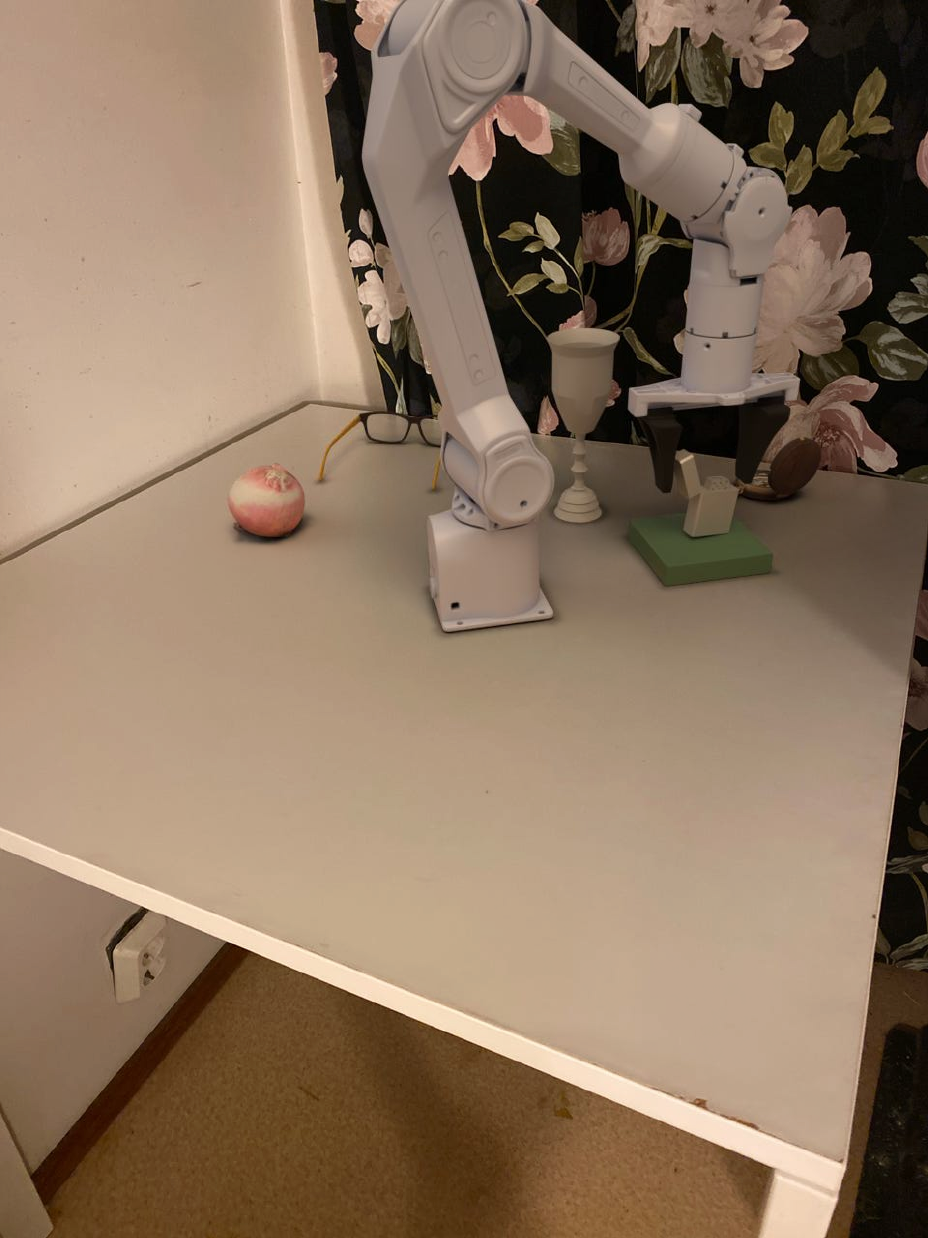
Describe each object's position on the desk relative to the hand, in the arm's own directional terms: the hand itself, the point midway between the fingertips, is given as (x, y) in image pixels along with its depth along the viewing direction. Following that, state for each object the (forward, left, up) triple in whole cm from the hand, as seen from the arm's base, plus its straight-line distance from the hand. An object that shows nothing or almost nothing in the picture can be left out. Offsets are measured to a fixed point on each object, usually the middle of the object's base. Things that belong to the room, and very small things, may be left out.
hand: (703, 484), depth 78 cm
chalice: (-8, +12, -7) cm, 16 cm away
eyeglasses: (-25, +31, -7) cm, 40 cm away
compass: (+12, +11, -7) cm, 18 cm away
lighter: (-1, 0, -5) cm, 5 cm away
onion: (-40, +16, -7) cm, 44 cm away
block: (0, 0, -7) cm, 7 cm away
